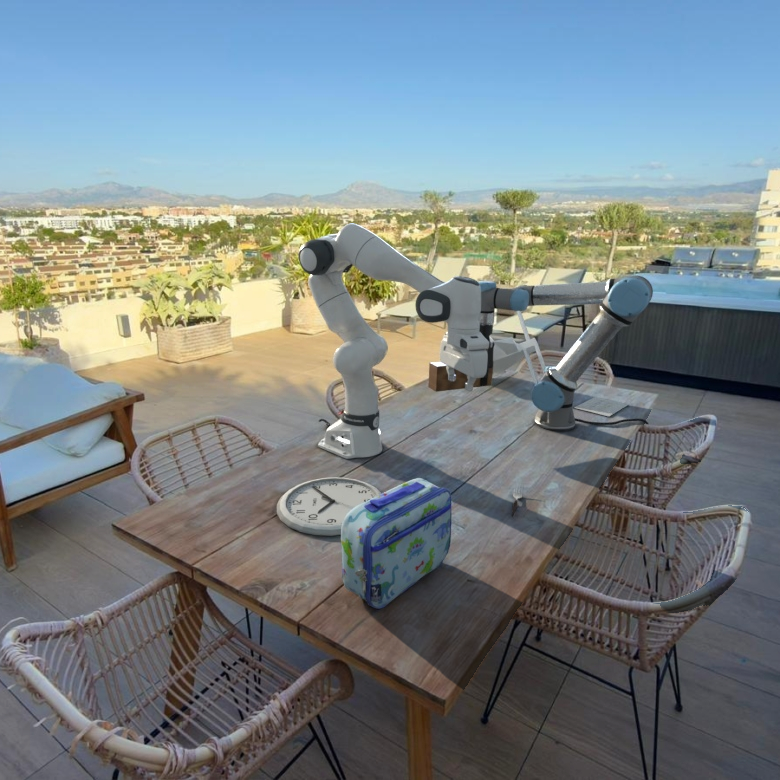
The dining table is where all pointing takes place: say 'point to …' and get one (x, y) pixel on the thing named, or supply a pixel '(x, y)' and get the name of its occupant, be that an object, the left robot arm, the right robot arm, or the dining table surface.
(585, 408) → the invitation card
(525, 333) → the white plastic object
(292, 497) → the wall clock
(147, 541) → the dining table surface
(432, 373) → the box
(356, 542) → the lunch box
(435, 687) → the dining table surface
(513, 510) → the fork
